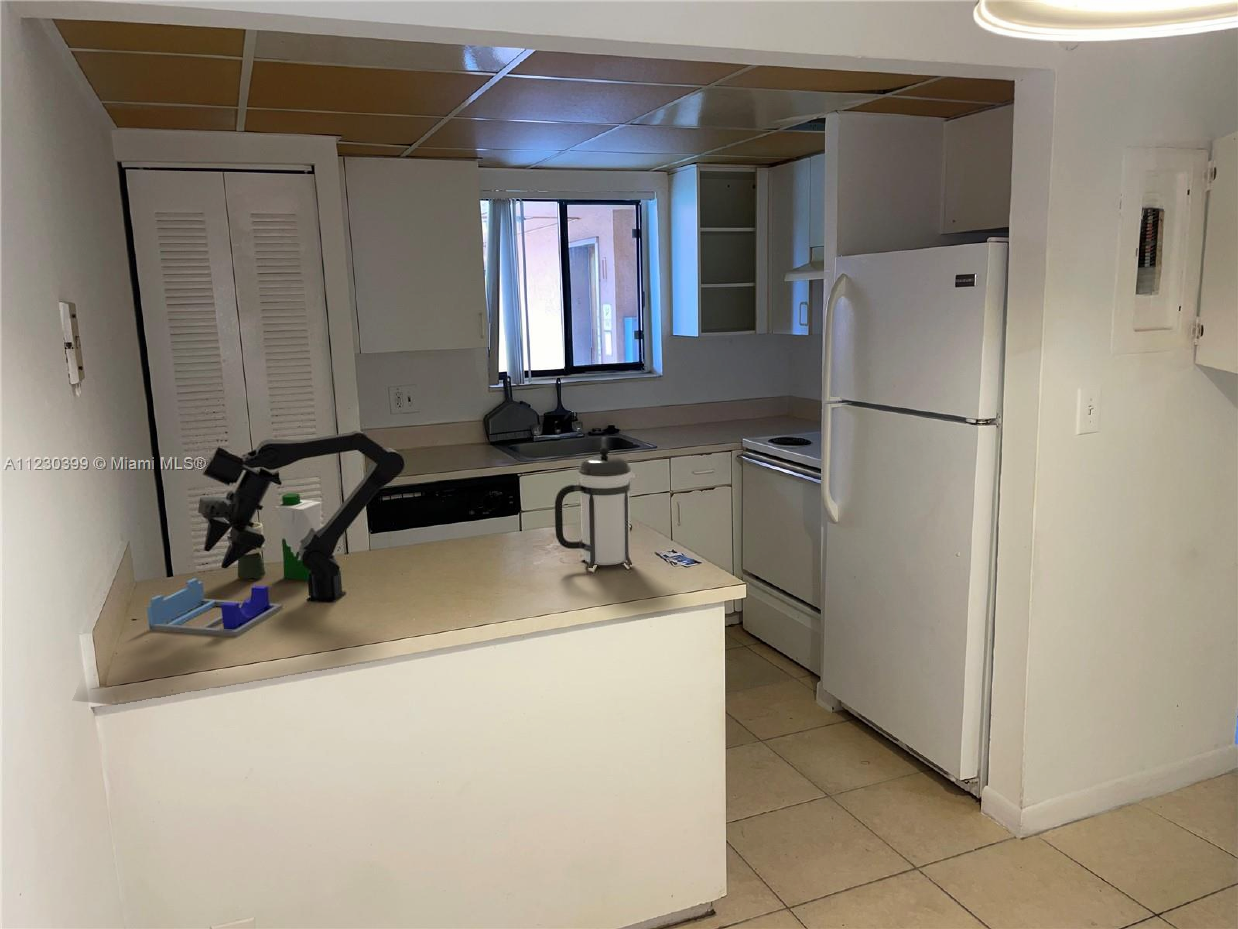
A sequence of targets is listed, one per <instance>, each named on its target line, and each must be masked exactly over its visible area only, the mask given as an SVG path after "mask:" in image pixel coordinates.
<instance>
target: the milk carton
mask: <svg viewBox="0 0 1238 929" xmlns="http://www.w3.org/2000/svg"><path fill="white" fill-rule="evenodd" d="M281 497H282V499H281V500H282V501H281V502H282V503H281V504H278V505H277V506H275V511H276V515H277V517H278V520H279V524H280V526H279V527H280V535H281V546H282V559H283V579H289V578H292V580H300V581H307V579H308V578H309V572H311V571H312V570H309V569H307V568H306V567H305V566H304V565H303V563H302V561H301V558H300V555H299V548H300V546H301V542H300V541H301V540H302V539H304V538H305V537H306V536H307V534H308V533H309V531H310V529H311V528H313V529H314V530H315V531H318V530H319V529H321V528H322V525H321V524H322V523H321V522H322V521H321V518H322V516H321V515H322V505H323V502H322V501H314V500H310V499H309V500H308V499H307V500H305V499H301V496H300V494H299V493H286V494H283V495H282V496H281Z"/></svg>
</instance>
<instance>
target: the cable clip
mask: <svg viewBox="0 0 1238 929" xmlns="http://www.w3.org/2000/svg"><path fill="white" fill-rule="evenodd" d="M250 590H251V592H250V598H248V599H246V600H245V601H242V602H243V604H242V606H241V608H239V603H231V602H225V603H223V604H221V606H220V609H221V616H222V619H223V622H222V627H223V628H222V629H232V630H236V629H237V628H239V627H241V626H242V625H244V624H246V623H247V622H249V621H251V620H253V619H254V618H256V617H258V616H259V615H261V614H263V613H264V612H266V611H268V610H269V609H270V604H271V603H270V595H269V586H267V585H255V584H254V585H253V586H252V587H251V588H250Z"/></svg>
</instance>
